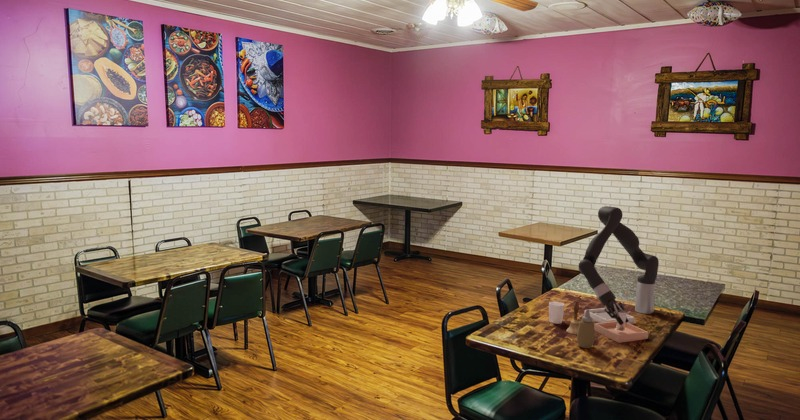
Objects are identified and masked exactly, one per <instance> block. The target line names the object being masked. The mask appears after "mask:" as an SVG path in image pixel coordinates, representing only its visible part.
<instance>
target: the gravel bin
mask: <svg viewBox="0 0 800 420" xmlns="http://www.w3.org/2000/svg"><path fill="white" fill-rule="evenodd" d="M605 308H606V307H601V308H591V309H589V312H590V316H591V317H592V322H594V323H604V322H612V321H616V319H614V318H611V317H610V316H609V314H608V313H607V312H606V311H605V310H604V309H605ZM586 310H587V309H584V311H583V312H584V313H583V314H584V315H583V316H585V313H586ZM612 316H613V315H612ZM626 317H627V319H628V320H629V321H628V322H627V323H629V324H632V325H634V324H635V317H634V316H632V315H629V313H626Z"/></svg>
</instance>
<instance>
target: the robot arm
mask: <svg viewBox="0 0 800 420" xmlns="http://www.w3.org/2000/svg"><path fill="white" fill-rule="evenodd" d="M597 216H598V219H599V221H600V222H601V223H602V224H603V225H604V228H603V229H601V231H599V233H597V234H596V235H595V236H594V237H593V238H591V240H590V242H589V244H588V246H587V248H586V250H585V253H584V256H583V258H582V259H581V261H579V263H578V271H579V273H580V274H581V275H583V276H584V278H586V280H587V282H588V285H589V286H590V288H591V289H592V291H593V292H594V294H595V296H596V297H597V299H598V301H600V304H602V305H603V306H605V307H604V308H605V309H604V310H605V311H606V312H607V313H608V314H609V316H610V317H611V318H614V319H616V320H617V321H618V323H619V324H620V325H622V324H623V323H624V322H623V321H622V319H621V318H620V317H619V315H618V310H623V311H626V309H625V306H624V305H623V303H622V302H620V301H619V302H617V301H616V298H617V297H616V295H615V294H614V293H613V291H612V290H611V288H610V287H609V286H608V284H606V282H605V281H604V279H603V278H602V277H601V276H600V274H599V273H598V270H597V269H596V267H595V265H596V263H597V260H598V259H599V257H600V256H601V252H602V251H603V249H604V246H605V245H606V243H607V241H608V240H609V239H610V237H611V235H613V236H614V237H615V238H616V240H617V241H618V243H619V244H620V245H621V246H622V247H623V249H625V251H626V252H627V254H629V256H630V257H631V259H632V261H633V262H634V265H635V266H636V267H637V268H638V269H640V270H643V271H644V274H642V275H639V276H638V277H637V281H636V290H635V291H636V292H635V293H636V294H635V304H634V305H635V307H634V311H635V312H637V313H639V314H644V315H649V314H652V313H655V310H654V309H655V301H656V296H655V287H656V280H657V277H658V273H659V271H658V270H659V266H660V265H659V264H660V263H659V261H660V260H659V259H658V257H657V256H656V255H653V254H650V253H646V252H644V251H643V250H642V249H641V248H640V239H639V237H638V235H637V234H636V233H635V231H633V230H632V229H631V228H629V226H626V225H625V224H623V223H622V222H621V221H622V219H623V211H622V209H621V208H619V207H616V206H608V205H607V206H606V205H605V206H601V207H600V208H599V209H598V212H597ZM612 315H613V316H612ZM628 321H629V320H628V319H627V317H626V323H627V322H628Z"/></svg>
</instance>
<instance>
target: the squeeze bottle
mask: <svg viewBox="0 0 800 420" xmlns="http://www.w3.org/2000/svg"><path fill="white" fill-rule="evenodd" d="M585 310H586V313H585V316H584V315H581V320H579V328H578V333H577V334H576V340H577V344H578V346H579V348H580V347H581V348H583V349H591V348H592V347H593V345H594V342H595V340H596V339H595V337H596V336H595V331H594V324H595V322H594V321H593V320H592V317H591V316H590V312H589V310H590V309H585Z"/></svg>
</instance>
